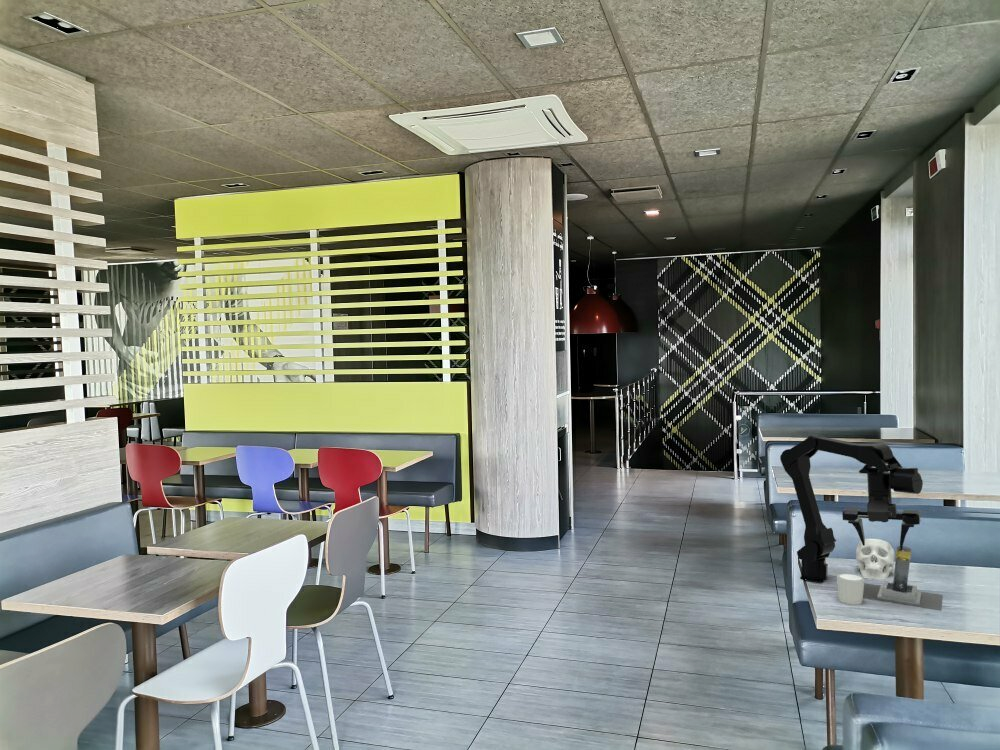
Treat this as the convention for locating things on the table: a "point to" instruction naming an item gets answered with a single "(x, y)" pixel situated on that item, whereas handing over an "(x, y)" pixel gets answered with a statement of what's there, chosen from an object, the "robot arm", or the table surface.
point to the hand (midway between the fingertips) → (882, 546)
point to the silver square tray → (899, 594)
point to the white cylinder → (850, 588)
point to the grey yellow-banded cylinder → (901, 568)
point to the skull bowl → (875, 559)
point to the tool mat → (926, 602)
